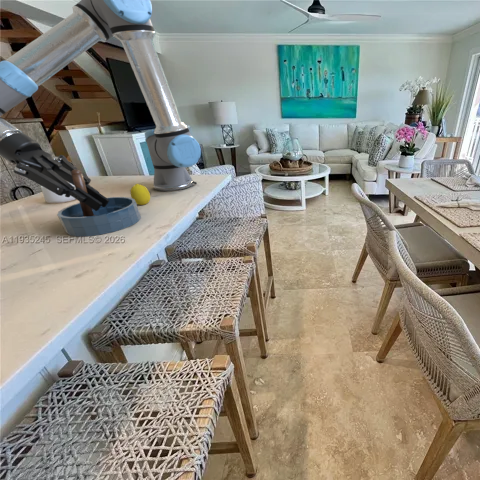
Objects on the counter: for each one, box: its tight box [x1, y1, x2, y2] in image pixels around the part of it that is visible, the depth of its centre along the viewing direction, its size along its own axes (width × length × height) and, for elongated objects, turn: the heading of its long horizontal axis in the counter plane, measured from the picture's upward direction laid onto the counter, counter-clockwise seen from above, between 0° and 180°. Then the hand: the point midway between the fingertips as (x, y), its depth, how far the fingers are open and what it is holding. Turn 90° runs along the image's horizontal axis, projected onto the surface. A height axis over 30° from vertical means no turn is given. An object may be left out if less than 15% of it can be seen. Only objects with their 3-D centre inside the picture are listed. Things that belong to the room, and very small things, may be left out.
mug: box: [40, 182, 76, 204], centre depth 98 cm, size 12×10×6 cm
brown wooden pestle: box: [71, 168, 95, 217], centre depth 73 cm, size 6×6×15 cm
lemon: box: [129, 183, 151, 206], centre depth 91 cm, size 6×6×8 cm
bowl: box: [56, 196, 142, 237], centre depth 76 cm, size 18×18×6 cm
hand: (103, 205), depth 74 cm, fingers closed on brown wooden pestle, 2 cm apart
